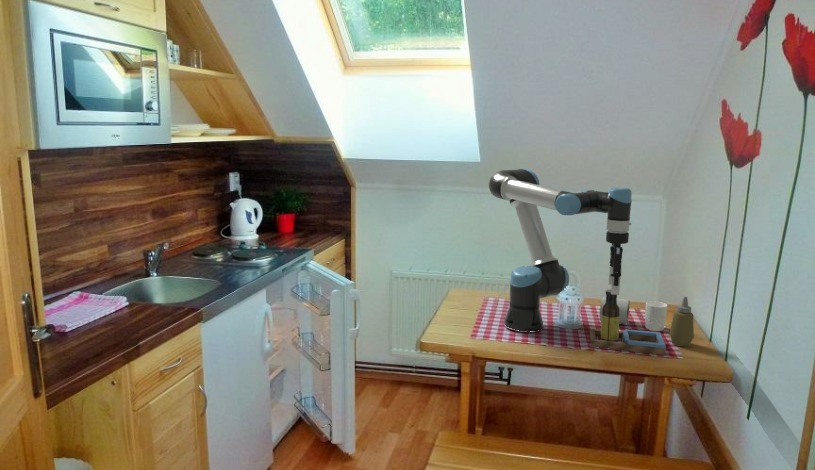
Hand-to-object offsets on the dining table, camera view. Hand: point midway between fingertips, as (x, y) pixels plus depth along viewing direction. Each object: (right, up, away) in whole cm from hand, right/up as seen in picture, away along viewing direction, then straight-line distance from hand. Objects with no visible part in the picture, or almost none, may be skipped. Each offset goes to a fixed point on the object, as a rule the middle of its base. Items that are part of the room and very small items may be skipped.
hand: (613, 289), depth 212 cm
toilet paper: (+9, -16, +26) cm, 32 cm away
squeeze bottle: (+26, -21, +3) cm, 33 cm away
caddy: (+5, -20, +3) cm, 21 cm away
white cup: (+23, -17, +20) cm, 35 cm away
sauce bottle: (0, -20, +4) cm, 21 cm away
